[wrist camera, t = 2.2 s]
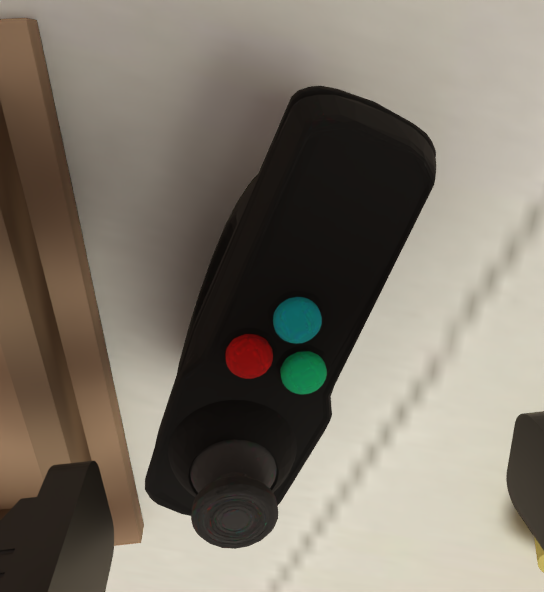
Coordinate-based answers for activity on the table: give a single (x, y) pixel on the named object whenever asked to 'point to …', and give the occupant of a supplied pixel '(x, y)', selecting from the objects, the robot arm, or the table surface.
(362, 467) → the table surface
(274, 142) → the controller
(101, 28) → the table surface
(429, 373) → the table surface
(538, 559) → the plastic component
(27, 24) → the cradle
